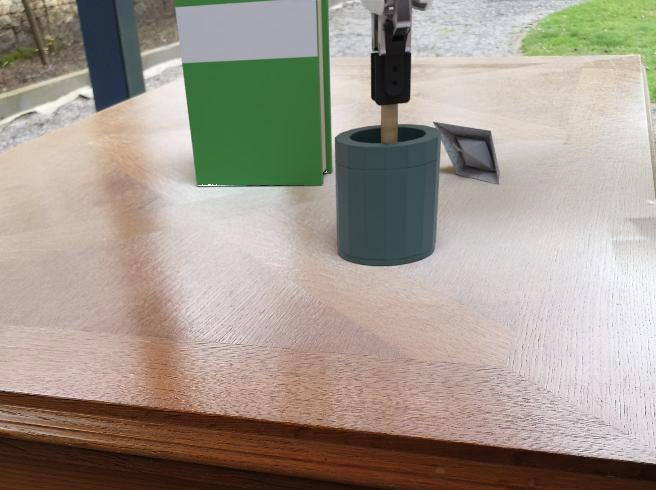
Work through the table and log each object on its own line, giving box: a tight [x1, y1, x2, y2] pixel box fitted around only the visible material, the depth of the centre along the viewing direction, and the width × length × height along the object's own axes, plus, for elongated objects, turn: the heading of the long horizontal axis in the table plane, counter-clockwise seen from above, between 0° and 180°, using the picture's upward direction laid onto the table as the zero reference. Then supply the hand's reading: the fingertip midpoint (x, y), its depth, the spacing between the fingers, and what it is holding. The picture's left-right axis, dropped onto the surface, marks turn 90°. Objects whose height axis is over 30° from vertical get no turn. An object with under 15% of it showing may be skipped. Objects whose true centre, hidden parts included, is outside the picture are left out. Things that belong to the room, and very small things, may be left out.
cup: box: [334, 123, 442, 267], centre depth 78 cm, size 10×10×11 cm
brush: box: [380, 104, 399, 143], centre depth 75 cm, size 4×4×16 cm
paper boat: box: [432, 121, 501, 185], centre depth 100 cm, size 12×6×9 cm
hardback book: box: [173, 0, 333, 187], centre depth 102 cm, size 18×7×24 cm, turn 75°
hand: (390, 100), depth 73 cm, fingers closed on brush
